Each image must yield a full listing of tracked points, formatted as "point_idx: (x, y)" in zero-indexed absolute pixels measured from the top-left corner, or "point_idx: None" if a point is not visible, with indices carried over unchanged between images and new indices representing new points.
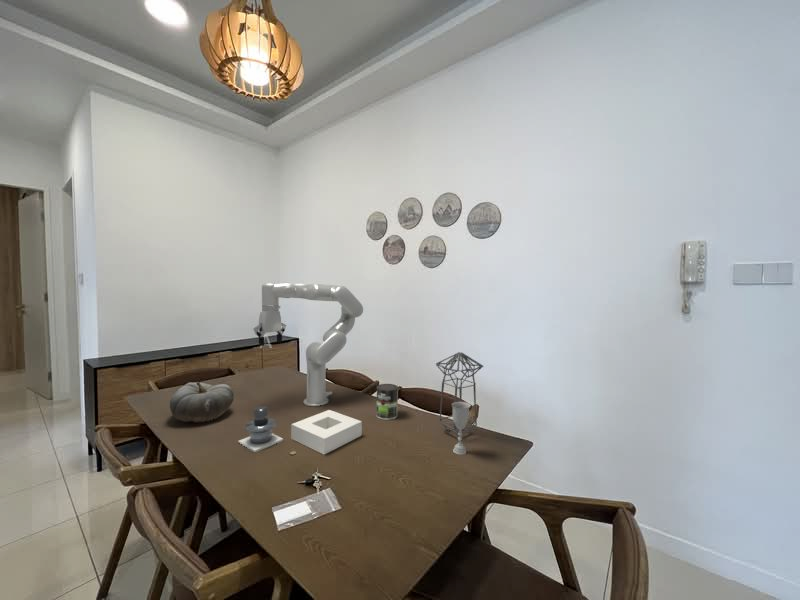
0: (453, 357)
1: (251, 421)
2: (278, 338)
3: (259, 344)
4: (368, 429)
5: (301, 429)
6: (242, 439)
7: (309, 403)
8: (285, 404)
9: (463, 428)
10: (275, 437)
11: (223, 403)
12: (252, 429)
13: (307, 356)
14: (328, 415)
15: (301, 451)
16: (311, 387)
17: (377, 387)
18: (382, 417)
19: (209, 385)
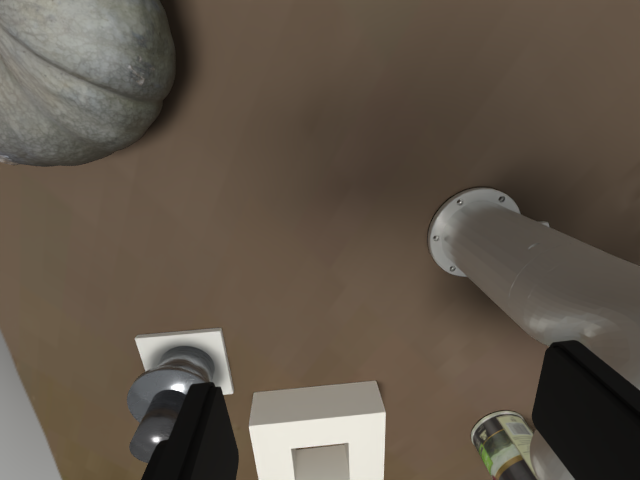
0: None
1: (152, 377)
2: (593, 440)
3: (193, 390)
4: (407, 452)
5: (254, 455)
6: (146, 339)
7: (436, 248)
8: (387, 167)
9: None
10: (221, 378)
11: (99, 157)
12: (138, 420)
13: (613, 343)
14: (355, 437)
15: (241, 444)
16: (474, 278)
17: None
18: (474, 442)
19: None
